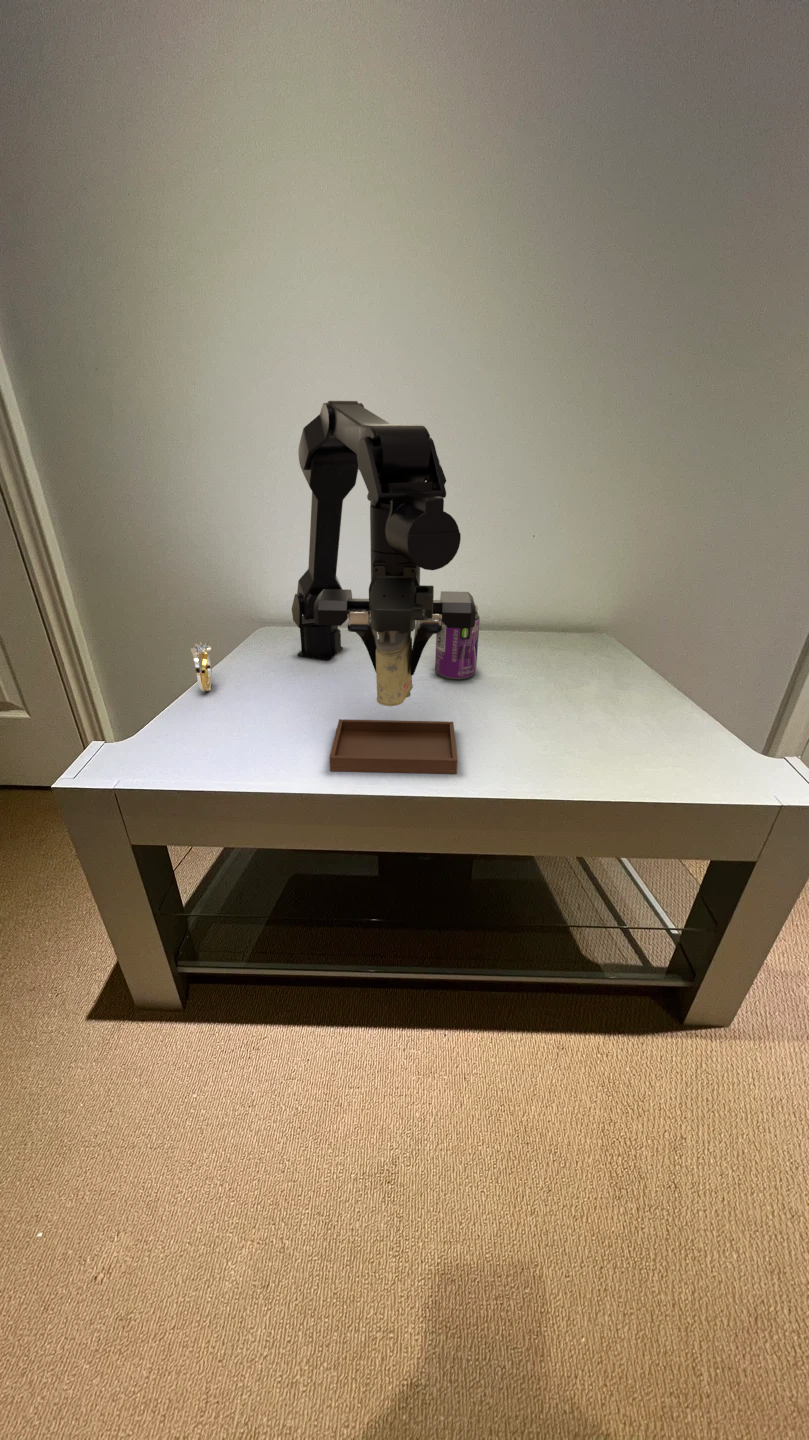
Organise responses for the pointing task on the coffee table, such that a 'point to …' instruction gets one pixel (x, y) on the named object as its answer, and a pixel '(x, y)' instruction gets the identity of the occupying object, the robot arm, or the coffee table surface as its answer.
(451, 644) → the beverage can
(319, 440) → the robot arm
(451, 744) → the tray
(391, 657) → the worn yellow canister
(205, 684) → the ring
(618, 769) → the coffee table surface
